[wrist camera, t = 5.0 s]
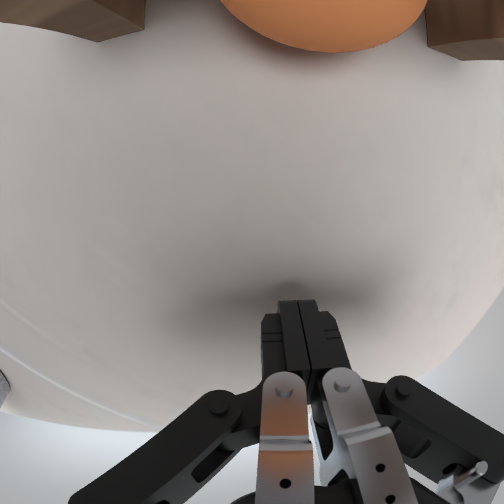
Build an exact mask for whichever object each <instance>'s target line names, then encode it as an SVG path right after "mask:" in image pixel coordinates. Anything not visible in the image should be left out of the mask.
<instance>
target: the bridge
mask: <svg viewBox="0 0 504 504" xmlns="http://www.w3.org/2000/svg"><path fill="white" fill-rule="evenodd" d="M144 15H145V0H0V22H3V23H12V24H19V25H25V26H31V27H37V28H42V29H47V30H52V31H57V32H61V33H65V34H69V35H73V36H77V37H81V38H84V39H88V40H92V41H95V42H100V41H103V40H106V39H110V38H113V37H117V36H120V35H124V34H128V33H132V32H136V31H141V30H144ZM425 16H426V25H427V36H428V47H430V48H432V49H435V50H438V51H440V52H443V53H445V54H448V55H450V56H453V57H455V58H457V59H460V60H462V61H465V60H504V0H427V3H426V5H425Z"/></svg>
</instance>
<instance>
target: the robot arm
mask: <svg viewBox="0 0 504 504" xmlns="http://www.w3.org/2000/svg"><path fill="white" fill-rule="evenodd" d="M261 364H262V381H261V382H260V384H259V385H258V386H257V387H256V388H254V389H253V390H251V391H248V392H245V393H242V394H238V395H234V394H233V393H231V392H229V391H225V390H214V391H210V392H208V393H206V394H204V395H203V396H202V397H201V398H200V399H198V400H197V401H196V402H195V403H194V404H193V405H191V406H190V407H189V408H188V409H187V410H186V411H184V412H183V413H182V414H181V415H180V416H178V417H177V418H176V419H175V420H174V421H172V422H171V423H170V424H169V425H167V426H166V427H165V428H164V429H163V430H161V431H160V432H159V433H158V434H156V435H155V436H154V437H153V438H151V439H150V440H149V441H148V442H146V443H145V444H144V445H142V446H141V447H140V448H138V449H137V450H136V451H134V452H133V453H132V454H131V455H129V456H128V457H126V458H125V459H124V460H122V461H121V462H120V463H118V464H117V465H116V466H114V467H113V468H111V469H110V470H108V471H107V472H106V473H104V474H103V475H101V476H100V477H98V478H97V479H95V480H94V481H93V482H91V483H90V484H88V485H87V486H85V487H84V488H82V489H80V490H79V491H77V492H76V493H74V494H73V495H72V496H71V497H70V499H69V501H68V504H183V503H185V502H186V501H187V500H188V499H189V498H190V497H192V496H193V495H194V494H195V493H196V492H197V491H198V490H199V489H201V488H202V487H203V486H204V485H205V484H206V483H207V482H208V481H210V480H211V479H212V478H213V477H214V476H215V475H216V474H217V473H218V472H219V471H220V470H221V469H222V468H223V467H224V466H225V465H226V464H227V463H228V462H229V461H230V460H231V459H232V458H233V457H234V456H235V455H236V454H237V453H238V452H239V451H240V450H241V449H242V448H244V447H248V446H251V445H254V444H257V443H259V454H258V468H257V482H256V492H252V493H250V494H247V495H244V496H242V497H240V498H238V499H237V500H235V501H233V502H232V503H231V504H491V502H492V500H493V498H494V496H495V494H496V492H497V490H498V488H499V485H500V483H501V482H502V481H503V480H504V434H502V433H500V432H499V431H497V430H495V429H494V428H492V427H490V426H489V425H487V424H485V423H484V422H482V421H480V420H478V419H477V418H475V417H474V416H472V415H470V414H469V413H467V412H465V411H464V410H462V409H460V408H459V407H457V406H455V405H454V404H452V403H450V402H449V401H447V400H446V399H444V398H442V397H441V396H439V395H437V394H436V393H434V392H433V391H431V390H430V389H428V388H426V387H425V386H423V385H421V384H420V383H418V382H417V381H415V380H414V379H412V378H410V377H407V376H402V375H400V376H395V377H392V378H391V379H390V380H389V381H388V382H387V383H378V382H370V381H366V380H364V379H362V378H361V377H360V376H359V375H358V374H357V373H356V372H355V371H353V370H352V369H351V366H350V363H349V360H348V357H347V353H346V350H345V347H344V344H343V341H342V339H341V335H340V332H339V330H338V326H337V323H336V320H335V318H334V317H333V316H332V315H331V314H330V313H329V312H328V311H322V312H319V311H318V307H317V304H316V301H315V300H297V301H296V300H289V301H278V308H277V313H275V314H266V315H265V316H264V318H263V320H262V322H261ZM9 390H10V387H9V384H8V382H7V380H6V379H5V377H4V376H3V375H2V373H1V372H0V408H1V406H2V404H3V402H4V400H5V398H6V396H7V394H8V392H9ZM309 404H311V408H312V415H311V420H310V421H311V426H312V430H313V435H314V439H315V443H316V447H317V451H318V456H319V460H320V481H321V485H322V486H314V466H313V465H314V464H313V447H312V443H311V441H310V440H309V432H308V412H307V405H309ZM404 463H405V464H407V465H408V466H410V467H411V468H413V469H414V470H416V471H417V472H419V473H421V474H422V475H424V476H426V477H427V478H429V479H430V480H432V481H434V482H435V483H437V484H438V488H437V490H436V494H435V493H434V492H432V491H431V490H429V489H428V488H426V487H425V486H423V485H422V484H420V483H419V482H418V481H416V480H415V479H413V478H411V477H409V475H408V472H407V470H406V467H405V464H404Z"/></svg>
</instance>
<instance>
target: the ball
mask: <svg viewBox="0 0 504 504" xmlns="http://www.w3.org/2000/svg"><path fill="white" fill-rule="evenodd" d="M220 1H221V2H222V3H223V4H224V6H225V7H226V8H227V9H228V10H229V11H230V12H231V13H232V14H233V15H234V16H235V17H236V18H237V19H238V20H240V21H241V22H243V23H244V24H245V25H247V26H248V27H250V28H251V29H253V30H254V31H256V32H258V33H260V34H261V35H263V36H265V37H268V38H270V39H272V40H274V41H277V42H279V43H283V44H286V45H289V46H292V47H295V48H300V49H305V50H309V51H318V52H330V53H339V52H351V51H359V50H363V49H368V48H372V47H375V46H378V45H380V44H383V43H386V42H388V41H390V40H392V39H393V38H395V37H397V36H399V35H400V34H401V33H403V32H404V31H405V30H407V29H408V28H409V27H410V26H411V25H412V24H413V23H414V22H415V21H416V20H417V19H418V17H419V16H420V14H421V13H422V11H423V10H424V8H425V5H426V3H427V0H220Z"/></svg>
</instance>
